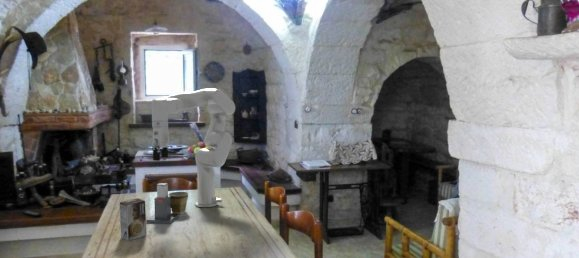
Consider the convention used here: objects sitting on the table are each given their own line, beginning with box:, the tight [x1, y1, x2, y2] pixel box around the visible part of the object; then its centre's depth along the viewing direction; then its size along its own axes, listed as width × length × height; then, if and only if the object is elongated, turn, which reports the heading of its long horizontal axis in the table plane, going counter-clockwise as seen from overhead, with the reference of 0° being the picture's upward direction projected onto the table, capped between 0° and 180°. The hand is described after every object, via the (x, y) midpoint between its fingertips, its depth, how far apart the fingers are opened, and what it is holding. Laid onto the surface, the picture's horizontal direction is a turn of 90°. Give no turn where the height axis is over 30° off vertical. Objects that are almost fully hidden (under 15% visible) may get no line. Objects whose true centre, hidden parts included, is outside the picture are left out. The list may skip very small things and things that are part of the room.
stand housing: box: [146, 195, 180, 225], centre depth 226 cm, size 12×12×12 cm
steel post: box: [156, 182, 169, 198], centre depth 226 cm, size 4×4×16 cm
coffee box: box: [119, 198, 147, 242], centre depth 201 cm, size 9×6×16 cm
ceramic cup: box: [168, 191, 189, 215], centre depth 240 cm, size 13×10×10 cm
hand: (160, 158), depth 224 cm, fingers open, 9 cm apart
